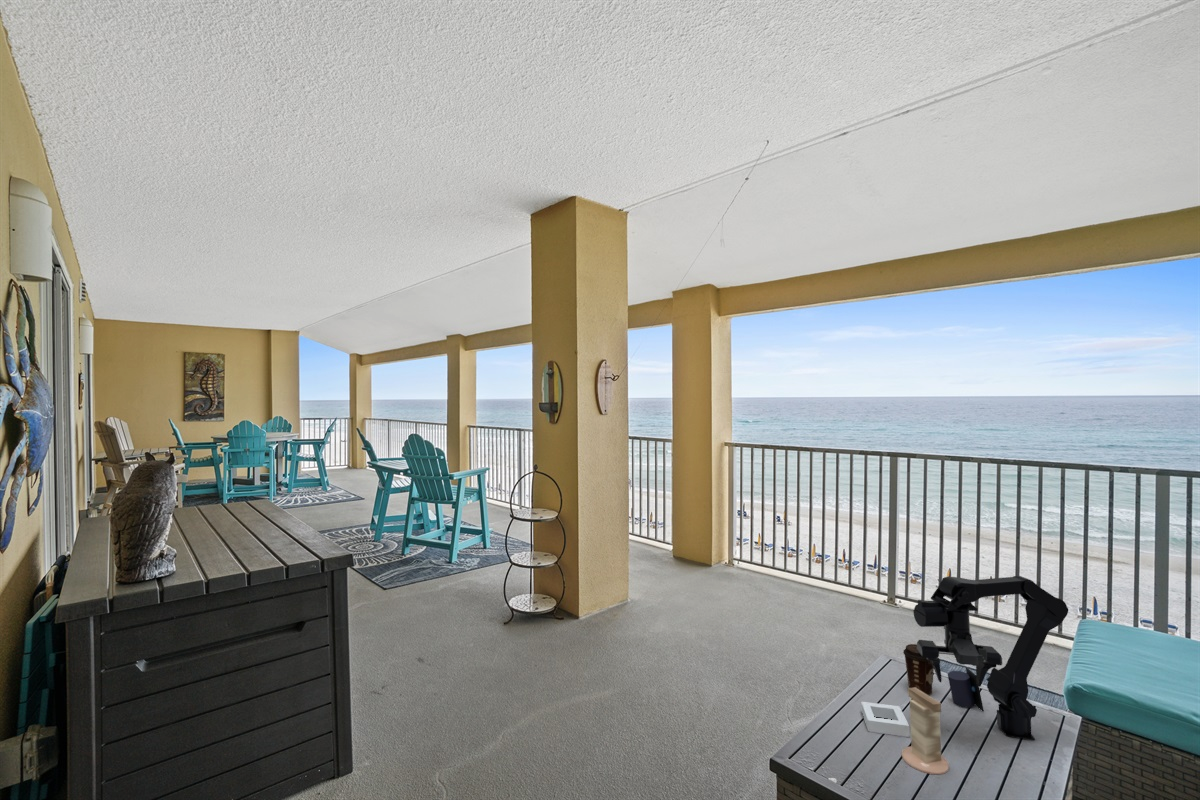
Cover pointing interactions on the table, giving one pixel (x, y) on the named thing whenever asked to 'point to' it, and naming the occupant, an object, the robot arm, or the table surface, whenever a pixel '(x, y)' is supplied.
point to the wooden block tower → (925, 726)
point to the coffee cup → (918, 670)
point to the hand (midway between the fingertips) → (959, 683)
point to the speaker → (965, 689)
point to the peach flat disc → (920, 765)
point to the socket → (885, 725)
